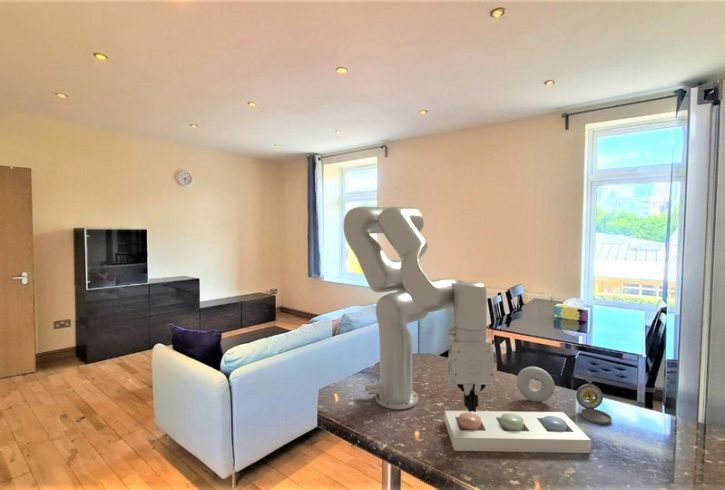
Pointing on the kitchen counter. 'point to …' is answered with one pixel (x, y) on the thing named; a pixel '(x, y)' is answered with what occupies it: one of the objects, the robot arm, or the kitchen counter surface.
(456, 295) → the robot arm
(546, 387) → the donut
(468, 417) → the terracotta button
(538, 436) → the console
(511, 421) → the sage button
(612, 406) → the kitchen counter surface
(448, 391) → the kitchen counter surface
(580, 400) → the pocket watch
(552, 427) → the slate button
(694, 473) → the kitchen counter surface
